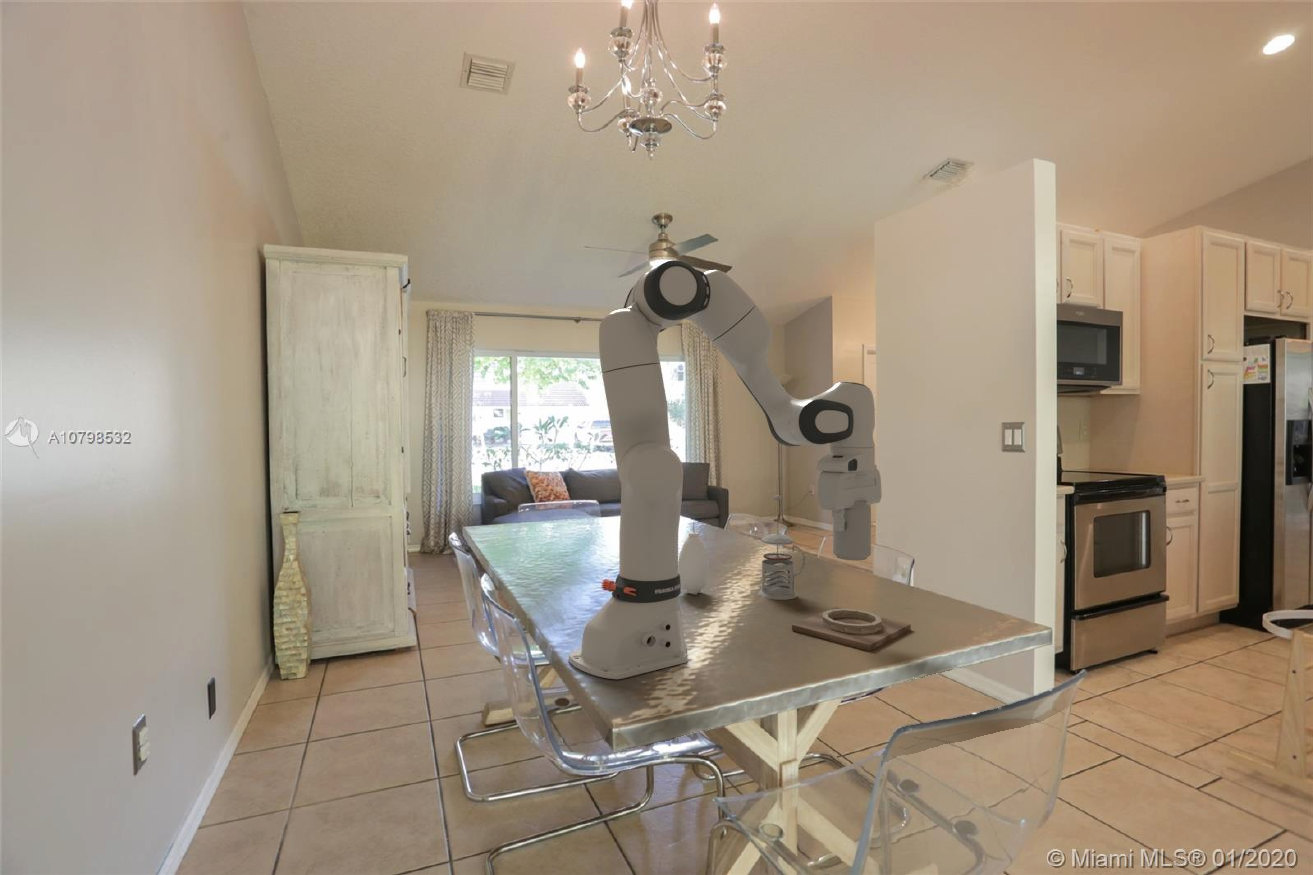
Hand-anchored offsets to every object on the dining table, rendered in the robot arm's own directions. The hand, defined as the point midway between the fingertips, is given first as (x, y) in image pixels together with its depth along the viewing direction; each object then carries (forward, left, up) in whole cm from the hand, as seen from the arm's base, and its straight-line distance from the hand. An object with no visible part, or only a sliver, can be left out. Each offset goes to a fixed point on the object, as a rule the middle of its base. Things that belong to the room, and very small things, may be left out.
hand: (851, 528), depth 128 cm
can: (0, 0, -6) cm, 6 cm away
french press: (+13, +26, -21) cm, 36 cm away
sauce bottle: (-2, +42, -21) cm, 47 cm away
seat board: (0, 0, -21) cm, 21 cm away
